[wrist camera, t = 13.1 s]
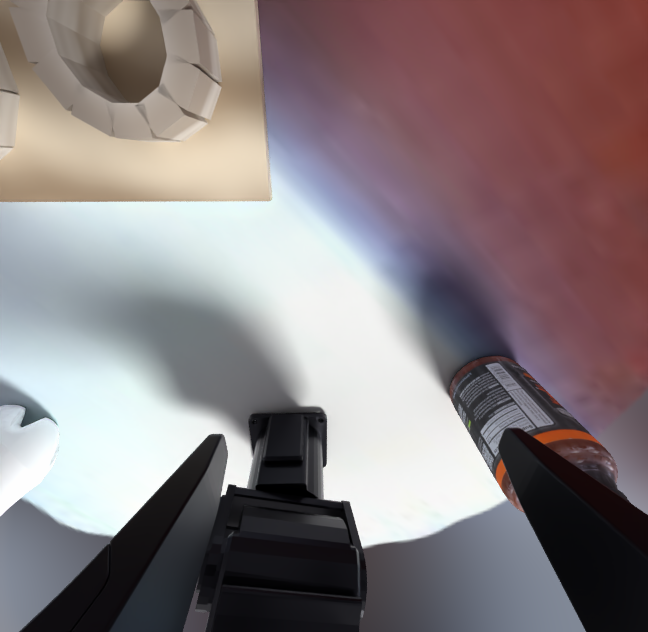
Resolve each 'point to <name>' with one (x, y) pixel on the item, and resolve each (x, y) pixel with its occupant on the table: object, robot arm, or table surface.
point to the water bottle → (24, 453)
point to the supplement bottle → (523, 420)
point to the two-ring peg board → (132, 101)
